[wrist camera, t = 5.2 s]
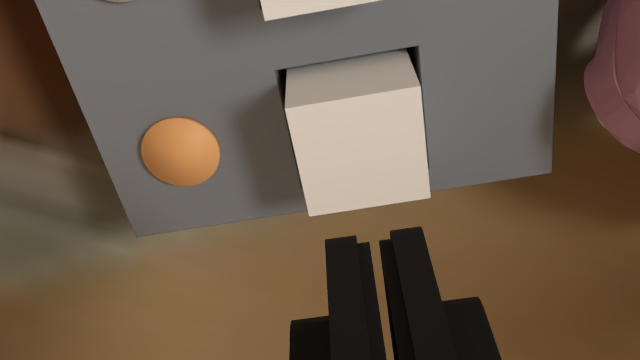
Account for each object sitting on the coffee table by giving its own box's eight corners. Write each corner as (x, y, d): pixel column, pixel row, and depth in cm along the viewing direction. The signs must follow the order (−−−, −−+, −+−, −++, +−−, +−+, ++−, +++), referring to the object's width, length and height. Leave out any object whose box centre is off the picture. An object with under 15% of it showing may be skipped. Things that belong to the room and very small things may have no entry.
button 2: (405, 48, 18) (420, 86, 16) (416, 151, 20) (430, 197, 18) (286, 68, 18) (284, 108, 16) (308, 168, 20) (309, 216, 18)
